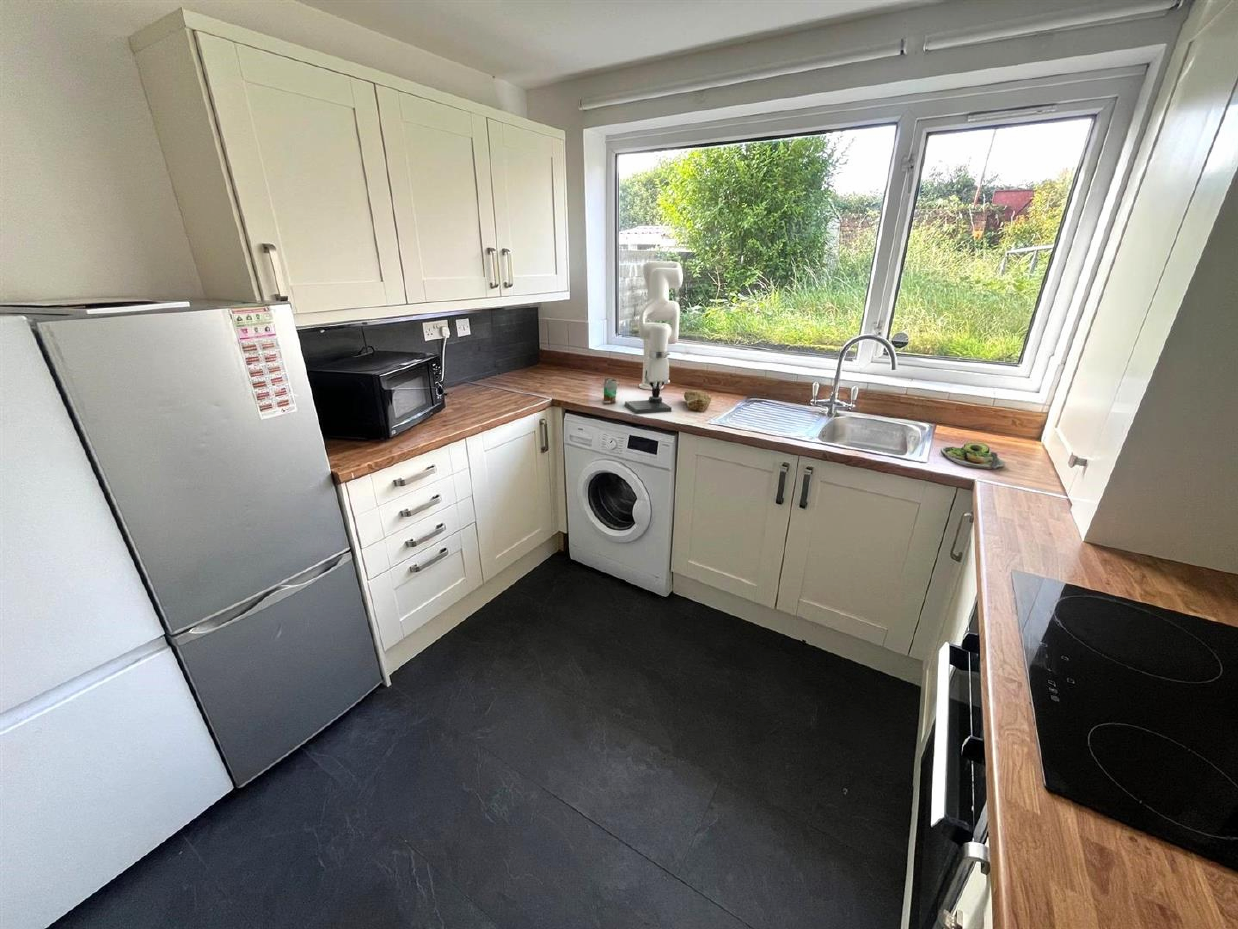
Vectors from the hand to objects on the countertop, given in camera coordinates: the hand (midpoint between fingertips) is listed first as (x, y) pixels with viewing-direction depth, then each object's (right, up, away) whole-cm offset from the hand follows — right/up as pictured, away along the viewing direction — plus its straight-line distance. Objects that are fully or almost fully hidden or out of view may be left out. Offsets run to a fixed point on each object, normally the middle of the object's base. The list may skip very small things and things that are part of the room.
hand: (655, 396), depth 220 cm
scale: (-4, -6, -4) cm, 8 cm away
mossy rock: (+18, -4, +3) cm, 19 cm away
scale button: (0, -2, +1) cm, 2 cm away
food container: (-20, -2, +4) cm, 20 cm away
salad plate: (+102, -28, -52) cm, 118 cm away
